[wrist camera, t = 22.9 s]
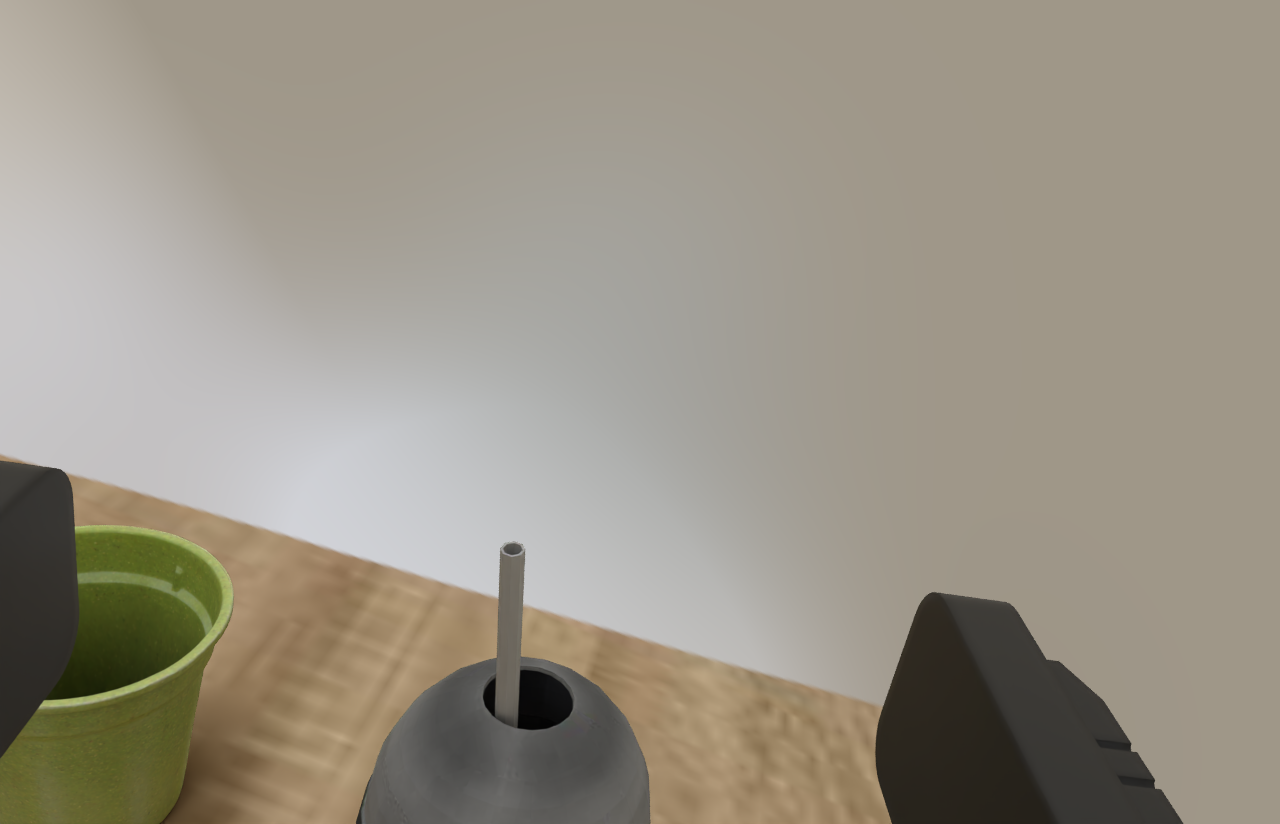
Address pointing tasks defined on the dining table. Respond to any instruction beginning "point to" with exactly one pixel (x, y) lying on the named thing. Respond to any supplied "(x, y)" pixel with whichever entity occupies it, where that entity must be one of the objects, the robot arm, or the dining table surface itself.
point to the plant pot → (122, 684)
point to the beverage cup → (510, 742)
